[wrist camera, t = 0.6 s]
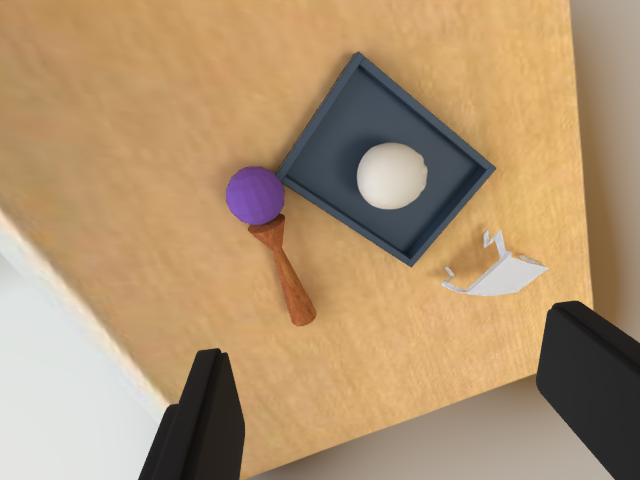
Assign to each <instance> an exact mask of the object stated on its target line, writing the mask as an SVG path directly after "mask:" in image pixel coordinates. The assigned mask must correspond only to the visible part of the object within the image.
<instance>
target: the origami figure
mask: <svg viewBox="0 0 640 480" xmlns="http://www.w3.org/2000/svg"><path fill="white" fill-rule="evenodd" d="M483 235H484V248H486V247H488V246H489V245H490V244H491V243H492V242H493V241H494V240H495V241H496V245H497V248H498V252H499V256H500V259H499V260H498V261H497V262H496V263H495V264H494V265H493V266H492V267H491V268H489V269H488V270H487V271H486V272H485V273H484V274H483V275H482V276H481V277H479V278H478V279H477V280H476V281H475V282H474V283H473V284H472V285H471V286H469V287H468V288H467V289H466V290H463V289H461V288H459V287H456V286H454V285H451V284H449V283H448V282H449V281H450V280H451V279H452V278H453V277H454V276H455V274H454V273H453V272H452V271H451V270H450V269H449V268H448V267H446V268H445V270H446V271H447V272H448V273H449V274H450V276H451V277H449V278H448V279H446V280H445V281H444V282H442V283H441V285H442V287H445V288H448V289H450V290H453V291H457V292H460V293H463V294H471V295H482V296H495V295H502V294H508V293H517V292H518V291H519V290H520V289H522V288H523V287H524V286H526V285H527V284H528V283H530V282H531V281H532V280H534V279H535V278H536V277H538V276H539V275H541V274H542V273H543V272H545V271H546V270H549V269H550V268H548V267H546V266H545V265H543V264H542V263H541V262H539V261H537V260H534V259H531V258H528V257H525V256H523V254H522V255H520V256H519V257H520V258H522V259H524V260H526V261H528V262H530V263H528V262H524V261H521V260H518V259H516V258H513V257H511V252H509V251H506V250H505V245H504V240H503V235H502V232H501V229H500V230H499V231H498V233H497V234H496V235H495V236H494V237H493V238H492V239H491V240H490V241H489V230H487V231H486V232H485V233H484V234H483Z"/></svg>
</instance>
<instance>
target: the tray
mask: <svg viewBox="0 0 640 480" xmlns="http://www.w3.org/2000/svg"><path fill="white" fill-rule="evenodd" d="M383 143H398V144H404V145H406V146H408V147H410V148H412V149H414V150H415V151H416V152H417V153H419V154H420V155H422V157H423V159H424V161H423V162H424V165H425V166H427V170H428V172H427V179H426V182H427V183H426V185H425V188H424V190H423V191H421V192H420V195H419V196H418V197H417V198H416V199H415V200H414V201H412V202H411V203H409V204H408V205H406V206H404V207H402V208H398V209H380V208H377V207H374V206H372V205H371V204H369V203H368V202H367V201H366V200H365V199H364V198H363V196H362V194H361V193H360V191H359V188H358V183H357V171H358V166H359V164H360V161H361V159H362V157H363V156H364V155H365V153H366V152H367V151H368V150H370V149H371V148H372V147H374V146H377V145H380V144H383ZM495 170H496V167H495V166H493V165H492V164H491V163H490V162H489V161H487V160H486V159H485V158H484V157H483V156H481V155H480V154H479V153H478V152H477V151H476V150H474V149H473V148H472V147H471V146H470V145H468V144H467V143H466V142H465V141H464V140H463V139H461V138H460V137H459V136H458V135H457V134H455V133H454V132H453V131H452V130H451V129H450V128H448V127H447V126H446V125H445V124H444V123H442V122H441V121H440V120H439V119H438V118H437V117H435V116H434V115H433V114H432V113H431V112H429V111H428V110H427V109H426V108H425V107H424V106H422V105H421V104H420V103H419V102H418V101H416V100H415V99H414V98H413V97H412V96H411V95H409V94H408V93H407V92H406V91H405V90H403V89H402V88H401V87H400V86H399V85H398V84H396V83H395V82H394V81H393V80H392V79H390V78H389V77H388V76H387V75H386V74H385V73H383V72H382V71H381V70H380V69H379V68H377V67H376V66H375V65H374V64H373V63H372V62H370V61H369V60H368V59H367V58H366V57H364V56H363V55H362V54H361V53H360V52H357V53H354V55H353V56H352V58H351V59H350V61H349V62H348V64H347V65H346V67H345V68H344V70H343V71H342V73H341V74H340V76H339V77H338V79H337V80H336V82H335V83H334V85H333V87H332V88H331V90H330V91H329V93H328V94H327V96H326V97H325V99H324V100H323V102H322V103H321V105H320V106H319V108H318V109H317V111H316V112H315V114H314V115H313V117H312V118H311V120H310V121H309V123H308V125H307V126H306V128H305V129H304V131H303V132H302V134H301V135H300V137H299V138H298V140H297V141H296V143H295V144H294V146H293V147H292V149H291V150H290V152H289V153H288V155H287V156H286V158H285V159H284V161H283V163H282V164H281V166H280V167H279V169H278V170H277V172H276V173H275V175H276V176H277V177H278V178H279V179H280V180H281V183H283V184H284V185H286V186H287V187H289V188H290V189H292V190H293V191H295V192H297V193H298V194H300V195H301V196H303V197H304V198H306V199H307V200H309V201H310V202H312V203H313V204H315V205H316V206H318V207H320V208H321V209H323V210H324V211H326V212H327V213H329V214H330V215H332V216H333V217H335V218H336V219H338V220H339V221H341V222H343V223H344V224H346V225H347V226H349V227H350V228H352V229H353V230H355V231H356V232H358V233H359V234H361V235H362V236H364V237H366V238H367V239H369V240H370V241H372V242H373V243H375V244H376V245H378V246H379V247H381V248H382V249H384V250H385V251H387V252H389V253H390V254H392V255H393V256H395V257H396V258H398V259H399V260H401V261H402V262H404V263H405V264H407V265H408V266H410V267H412V266H413V265H414V264H415V263H416V262H417V261H418V259H419V258H420V257H421V256H422V255H423V254H424V252H425V251H426V250H427V249H428V248H429V247H430V245H431V244H432V243H433V242H434V241H435V240H436V238H437V237H438V236H439V235H440V234H441V233H442V231H443V230H444V229H445V228H446V227H447V226H448V224H449V223H450V222H451V221H452V220H453V219H454V217H455V216H456V215H457V214H458V213H459V212H460V210H461V209H462V208H463V207H464V206H465V205H466V203H467V202H468V201H469V200H470V199H471V198H472V196H473V195H474V194H475V193H476V192H477V191H478V189H479V188H480V187H481V186H482V185H483V184H484V182H485V181H486V180H487V179H488V178H489V177H490V175H491V174H492V173H493V172H494V171H495Z"/></svg>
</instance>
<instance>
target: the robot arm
mask: <svg viewBox="0 0 640 480" xmlns="http://www.w3.org/2000/svg"><path fill="white" fill-rule="evenodd" d="M536 384H537V387H538V390H539V391H540V393H541V394H542V395H543V396H544V398H545V399H546V400H547V401H548V402H549V403H550V404H551V406H552V407H553V408H554V409H555V410H556V412H557V413H558V414H559V415H560V416H561V417H562V419H563V420H564V421H565V422H566V423H567V424H568V426H569V427H570V428H571V429H572V430H573V431H574V433H576V435H577V436H578V437H579V438H580V440H581V441H582V442H583V443H584V444H585V445H586V447H587V448H588V449H589V450H590V451H591V452H592V453H593V455H594V456H595V457H596V458H597V459H598V460H599V462H600V463H601V464H602V465H603V466H604V467H605V469H606V470H607V471H608V472H609V473H610V474H611V476H612V477H613V478H614V479H615V480H640V343H638V342H637V341H636V340H634V339H633V338H632V337H630V336H628V335H627V334H626V333H624V332H623V331H622V330H620V329H619V328H617V327H616V326H614V325H613V324H611V323H610V322H609V321H607V320H605V319H604V318H603V317H601V316H600V315H598V314H597V313H595V312H594V311H593V310H591V309H590V308H588V307H587V306H585V305H584V304H583V303H581V302H579V301H568V302H560V303H555V304H554V305H553V306H552V308H551V309H550V310H549V311H548V313H547V318H546V323H545V329H544V335H543V341H542V347H541V353H540V359H539V365H538V370H537V376H536ZM244 439H245V422H244V418H243V414H242V409H241V405H240V401H239V397H238V393H237V389H236V385H235V381H234V377H233V373H232V369H231V364H230V360H229V356H228V354H227V353H226V352H225V353H221V350H220V349H219V348H215V349H208V350H200V351H198V352H197V354H196V357H195V360H194V362H193V365H192V368H191V371H190V373H189V376H188V379H187V382H186V384H185V387H184V390H183V393H182V395H181V398H180V401H179V404H173V405H170V406H169V407H167V409H166V411H165V413H164V415H163V418H162V420H161V423H160V426H159V428H158V431H157V433H156V436H155V438H154V441H153V443H152V446H151V448H150V451H149V453H148V456H147V458H146V461H145V464H144V466H143V469H142V471H141V474H140V476H139V479H138V480H239V477H240V469H241V462H242V454H243V446H244Z"/></svg>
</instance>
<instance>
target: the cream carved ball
mask: <svg viewBox="0 0 640 480" xmlns="http://www.w3.org/2000/svg"><path fill="white" fill-rule="evenodd" d="M423 161H424V159H423V157H422V155H420V154H419V153H417V152H416V151H415V150H414V149H412V148H410V147H408V146H406V145H404V144H398V143H383V144H380V145H377V146H374V147H372V148H371V149H370V150H368V151H367V152H366V153H365V155H364V156H363V157H362V159H361V161H360V164H359V166H358V171H357V183H358V188H359V191H360V193H361V194H362V196H363V198H364V199H365V200H366V201H367V202H368V203H369V204H371V205H372V206H374V207H377V208H380V209H398V208H402V207H404V206H406V205H408V204H409V203H411V202H412V201H414V200H415V199H416V198H417V197H418V196H419V195H420V192H421V191H423V190H424V188H425V185H426V183H427V182H426V179H427V172H428V170H427V166H425V165H424V162H423Z"/></svg>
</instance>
